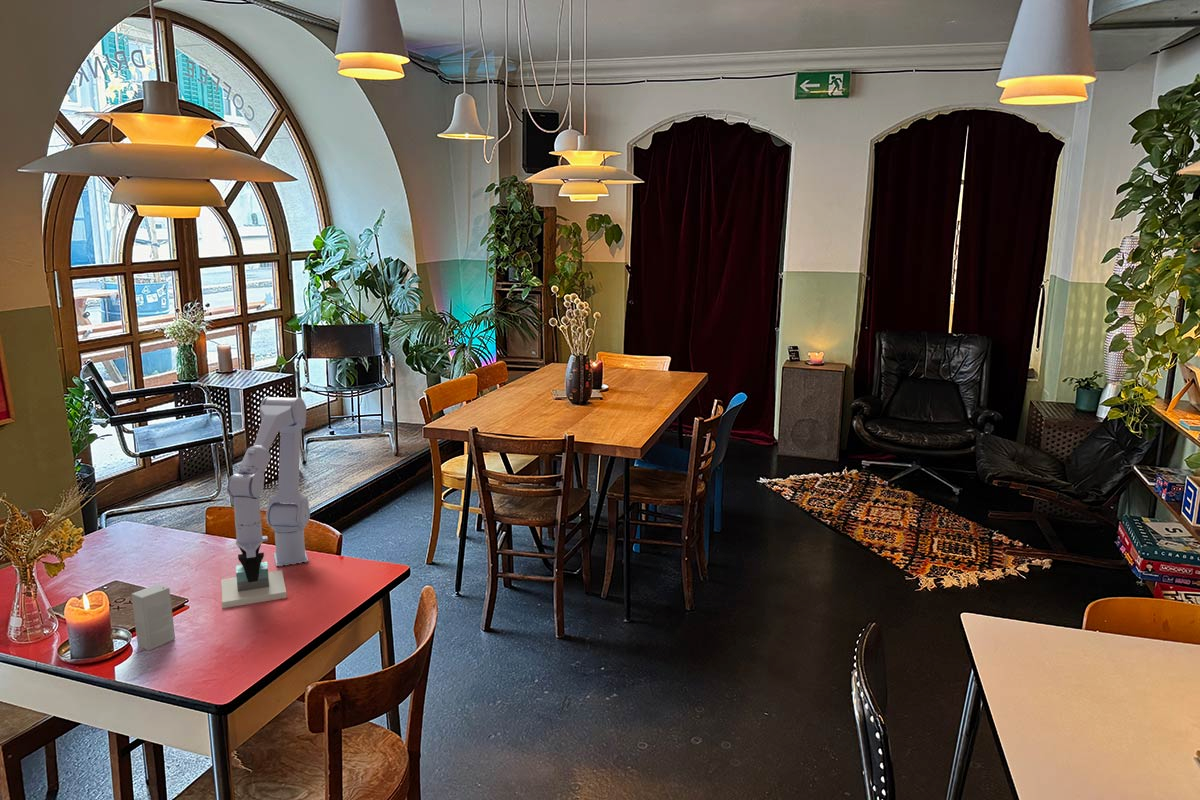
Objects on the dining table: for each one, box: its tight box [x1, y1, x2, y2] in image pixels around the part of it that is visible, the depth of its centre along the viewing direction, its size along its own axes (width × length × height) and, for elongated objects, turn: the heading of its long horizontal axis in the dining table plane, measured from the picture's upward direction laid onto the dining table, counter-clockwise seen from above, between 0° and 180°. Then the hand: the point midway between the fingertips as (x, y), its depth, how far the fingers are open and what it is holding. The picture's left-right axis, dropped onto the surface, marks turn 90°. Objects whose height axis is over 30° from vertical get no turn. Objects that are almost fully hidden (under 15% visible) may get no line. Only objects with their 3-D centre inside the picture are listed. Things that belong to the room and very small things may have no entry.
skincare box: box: [130, 583, 176, 652], centre depth 172 cm, size 6×4×12 cm
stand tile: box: [220, 569, 288, 609], centre depth 198 cm, size 14×14×2 cm
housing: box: [235, 561, 269, 592], centre depth 197 cm, size 5×7×5 cm, turn 114°
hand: (252, 575), depth 197 cm, fingers open, 7 cm apart
